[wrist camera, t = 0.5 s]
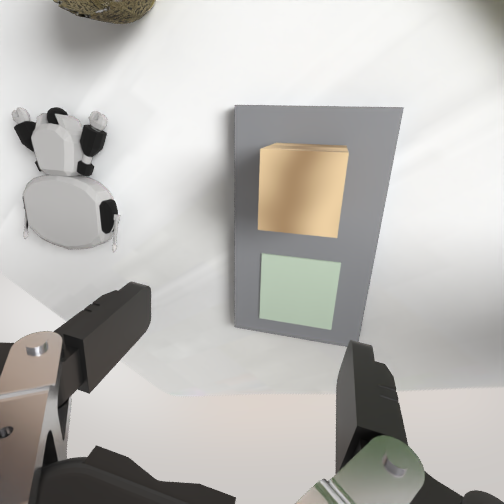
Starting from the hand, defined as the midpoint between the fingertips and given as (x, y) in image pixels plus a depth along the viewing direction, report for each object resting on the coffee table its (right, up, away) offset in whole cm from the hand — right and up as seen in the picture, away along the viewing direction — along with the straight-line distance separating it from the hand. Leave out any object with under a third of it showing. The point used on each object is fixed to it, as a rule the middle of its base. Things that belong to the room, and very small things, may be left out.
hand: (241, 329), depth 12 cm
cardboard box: (+5, +10, +16) cm, 19 cm away
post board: (+6, +5, +20) cm, 22 cm away
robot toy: (-19, +12, +25) cm, 33 cm away
